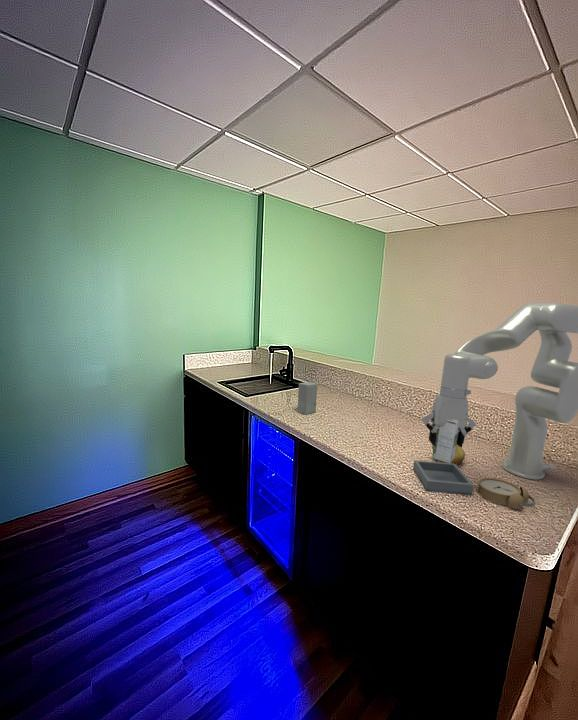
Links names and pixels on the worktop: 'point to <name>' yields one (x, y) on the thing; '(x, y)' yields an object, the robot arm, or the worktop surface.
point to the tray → (442, 477)
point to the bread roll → (456, 455)
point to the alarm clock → (504, 493)
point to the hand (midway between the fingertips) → (445, 443)
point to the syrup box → (446, 441)
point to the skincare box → (307, 397)
